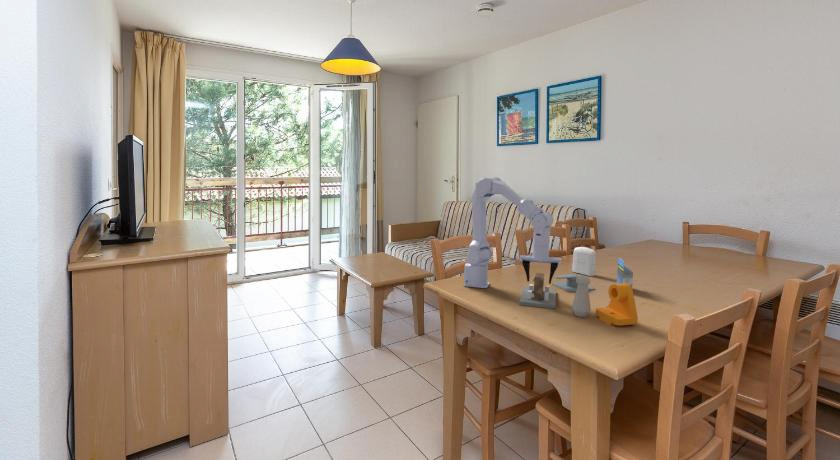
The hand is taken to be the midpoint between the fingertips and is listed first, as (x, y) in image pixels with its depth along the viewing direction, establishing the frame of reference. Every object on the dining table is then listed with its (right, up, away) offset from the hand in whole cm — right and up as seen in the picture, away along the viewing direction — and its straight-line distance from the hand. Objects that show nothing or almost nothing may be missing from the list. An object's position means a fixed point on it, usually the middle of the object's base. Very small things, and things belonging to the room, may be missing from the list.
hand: (538, 281), depth 154 cm
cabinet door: (0, -5, +1) cm, 5 cm away
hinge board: (0, -6, +1) cm, 6 cm away
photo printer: (+31, -1, +39) cm, 50 cm away
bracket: (+18, -10, -21) cm, 30 cm away
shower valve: (+17, -5, +17) cm, 25 cm away
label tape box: (+38, -5, +14) cm, 41 cm away
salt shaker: (+9, -9, -17) cm, 21 cm away
